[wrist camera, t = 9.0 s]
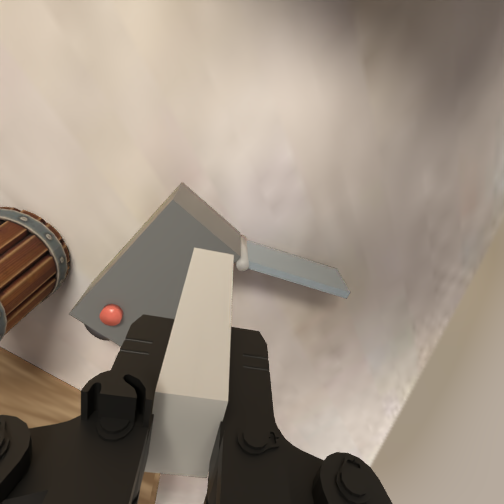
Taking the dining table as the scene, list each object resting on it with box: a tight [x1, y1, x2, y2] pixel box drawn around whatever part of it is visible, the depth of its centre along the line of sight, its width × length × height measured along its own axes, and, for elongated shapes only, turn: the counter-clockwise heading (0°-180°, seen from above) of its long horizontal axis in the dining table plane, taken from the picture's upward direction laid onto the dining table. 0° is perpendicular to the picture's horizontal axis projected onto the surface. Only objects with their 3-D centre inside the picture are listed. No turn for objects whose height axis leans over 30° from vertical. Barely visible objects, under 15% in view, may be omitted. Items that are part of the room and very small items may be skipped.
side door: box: [236, 235, 350, 299], centre depth 36 cm, size 12×1×6 cm, turn 70°
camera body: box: [69, 182, 241, 346], centre depth 35 cm, size 17×8×7 cm, turn 136°
